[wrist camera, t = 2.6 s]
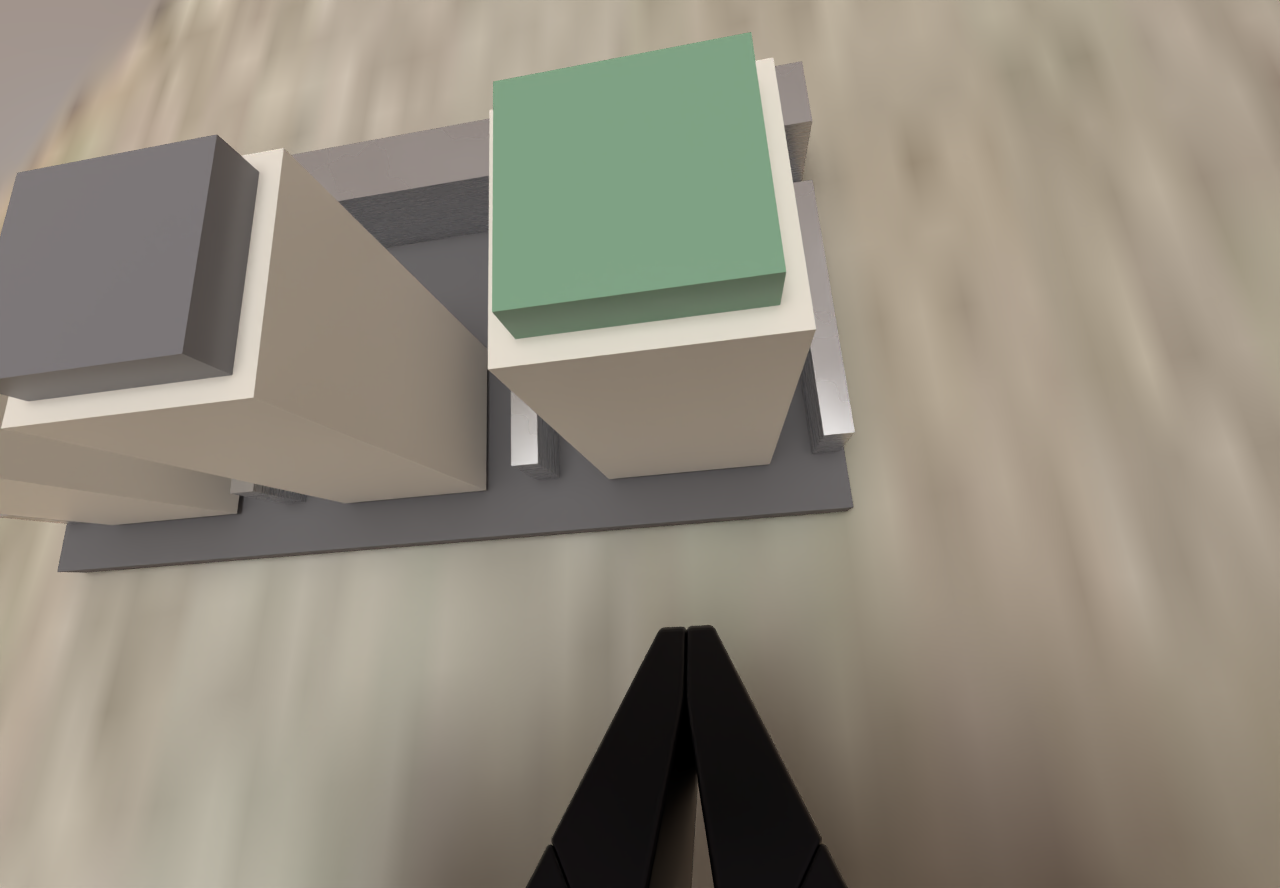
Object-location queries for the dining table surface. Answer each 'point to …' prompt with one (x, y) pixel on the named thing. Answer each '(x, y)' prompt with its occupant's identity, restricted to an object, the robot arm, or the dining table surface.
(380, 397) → the key
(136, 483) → the key
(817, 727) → the dining table surface
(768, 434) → the key
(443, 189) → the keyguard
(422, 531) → the key mat
